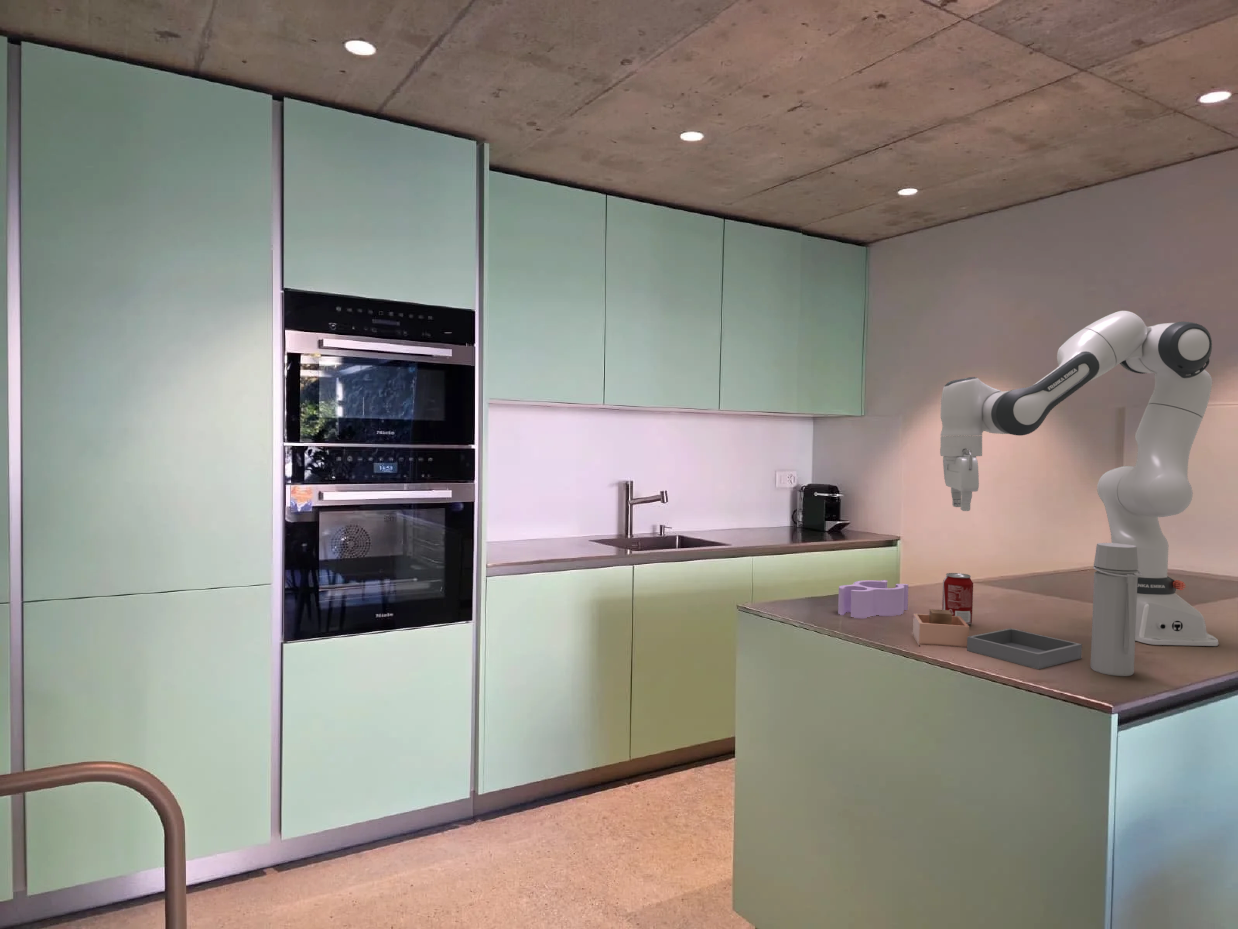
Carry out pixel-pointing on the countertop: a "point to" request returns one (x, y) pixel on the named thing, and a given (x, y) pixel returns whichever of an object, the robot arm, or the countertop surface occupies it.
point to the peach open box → (940, 631)
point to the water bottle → (1114, 609)
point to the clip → (872, 599)
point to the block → (940, 617)
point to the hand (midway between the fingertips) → (961, 508)
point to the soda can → (958, 595)
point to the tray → (1024, 648)
